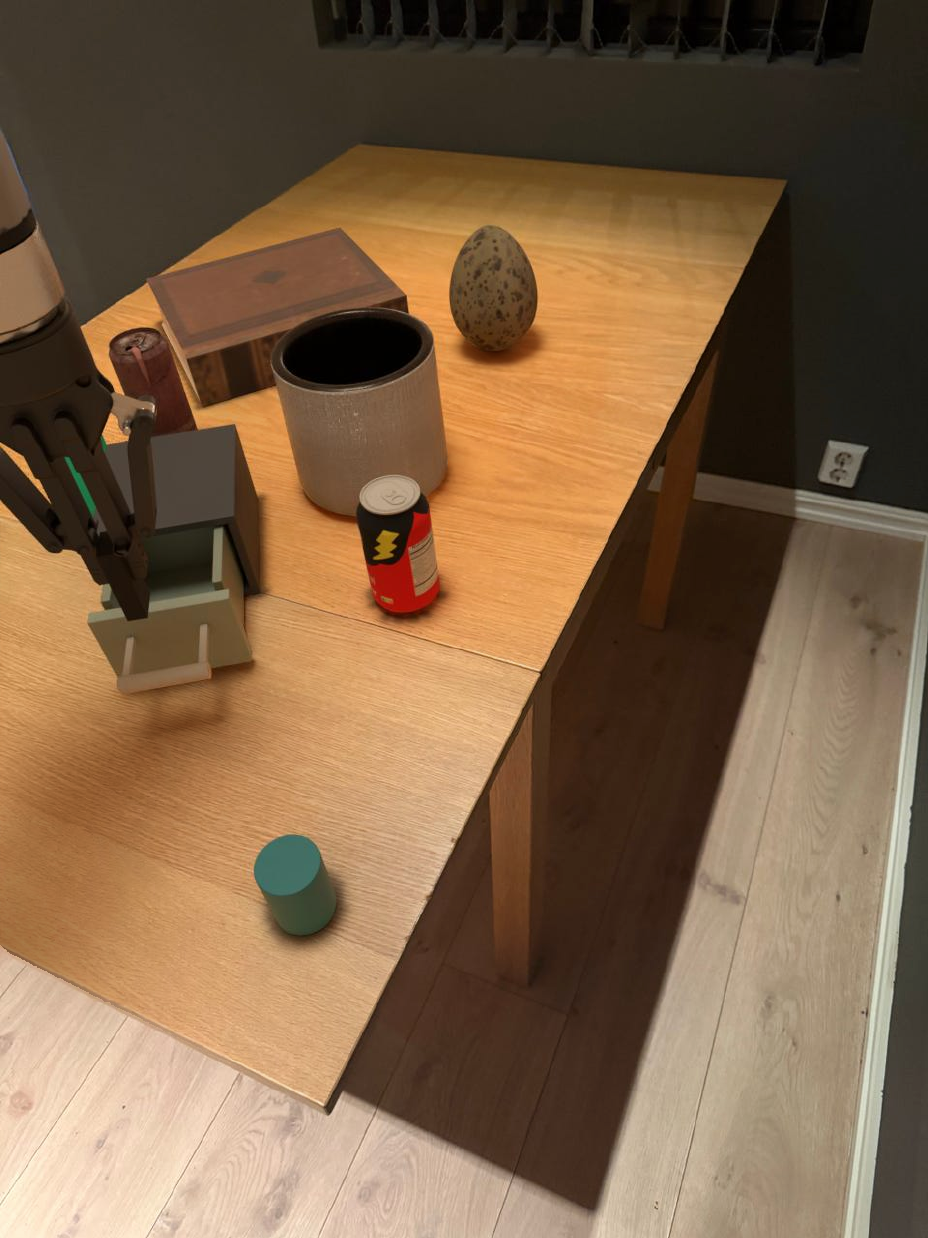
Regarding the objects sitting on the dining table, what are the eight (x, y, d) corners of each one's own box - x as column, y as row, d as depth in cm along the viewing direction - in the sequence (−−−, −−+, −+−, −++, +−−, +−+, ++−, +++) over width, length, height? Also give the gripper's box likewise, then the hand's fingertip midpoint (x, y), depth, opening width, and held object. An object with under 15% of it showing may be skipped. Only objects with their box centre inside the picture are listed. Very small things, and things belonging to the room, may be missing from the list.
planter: (469, 443, 98) (458, 313, 87) (416, 535, 88) (396, 401, 77) (340, 424, 103) (314, 297, 92) (275, 509, 93) (237, 379, 82)
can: (158, 473, 99) (113, 361, 89) (143, 446, 103) (99, 335, 93) (210, 455, 100) (171, 343, 90) (193, 428, 104) (155, 318, 94)
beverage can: (410, 562, 86) (394, 461, 77) (454, 593, 82) (442, 491, 74) (359, 596, 83) (337, 495, 74) (403, 629, 79) (384, 528, 71)
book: (412, 342, 115) (406, 294, 110) (202, 407, 108) (186, 358, 103) (347, 271, 130) (340, 227, 126) (161, 323, 123) (145, 278, 119)
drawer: (253, 712, 73) (228, 649, 67) (114, 737, 72) (77, 676, 67) (251, 559, 86) (230, 496, 81) (134, 579, 85) (104, 517, 80)
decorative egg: (470, 320, 118) (462, 205, 107) (548, 329, 114) (548, 211, 104) (441, 362, 111) (429, 243, 100) (523, 373, 108) (520, 251, 97)
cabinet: (260, 593, 84) (234, 515, 77) (127, 616, 83) (88, 539, 76) (258, 499, 94) (235, 423, 87) (139, 519, 93) (106, 444, 86)
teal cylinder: (275, 941, 60) (253, 902, 56) (273, 883, 63) (253, 841, 59) (339, 929, 60) (322, 888, 56) (334, 871, 64) (318, 828, 59)
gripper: (123, 269, 53) (226, 560, 70) (-101, 300, 52) (58, 587, 69) (111, 329, 48) (224, 627, 65) (-139, 364, 47) (43, 658, 64)
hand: (139, 607), depth 67 cm, fingers closed
